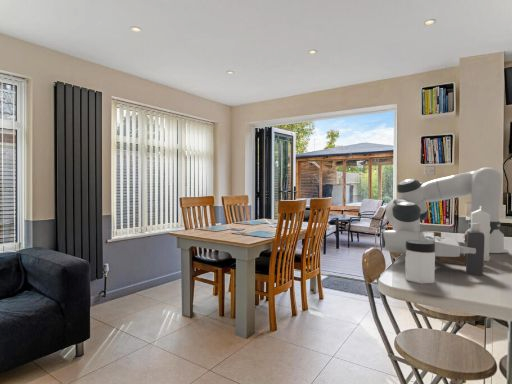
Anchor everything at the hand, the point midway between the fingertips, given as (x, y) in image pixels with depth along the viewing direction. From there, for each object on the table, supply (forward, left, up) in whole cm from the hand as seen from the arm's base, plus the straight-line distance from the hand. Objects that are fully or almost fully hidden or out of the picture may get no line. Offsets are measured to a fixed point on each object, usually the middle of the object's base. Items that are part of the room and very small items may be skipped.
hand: (474, 248), depth 110 cm
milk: (-28, +4, -9) cm, 30 cm away
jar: (+20, -16, -9) cm, 27 cm away
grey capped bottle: (0, 0, -8) cm, 9 cm away
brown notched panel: (-14, -6, -8) cm, 17 cm away
